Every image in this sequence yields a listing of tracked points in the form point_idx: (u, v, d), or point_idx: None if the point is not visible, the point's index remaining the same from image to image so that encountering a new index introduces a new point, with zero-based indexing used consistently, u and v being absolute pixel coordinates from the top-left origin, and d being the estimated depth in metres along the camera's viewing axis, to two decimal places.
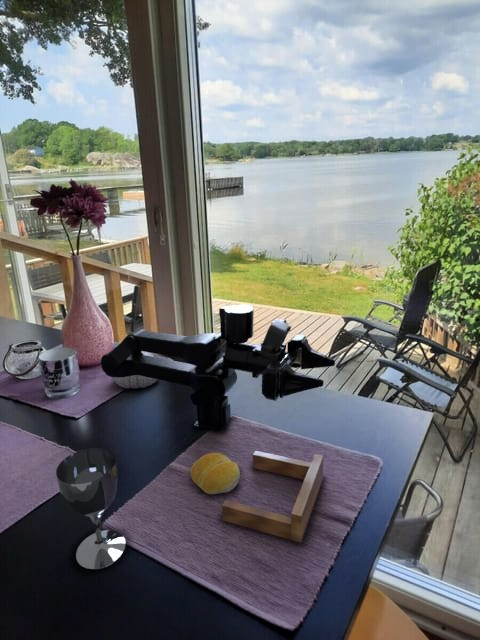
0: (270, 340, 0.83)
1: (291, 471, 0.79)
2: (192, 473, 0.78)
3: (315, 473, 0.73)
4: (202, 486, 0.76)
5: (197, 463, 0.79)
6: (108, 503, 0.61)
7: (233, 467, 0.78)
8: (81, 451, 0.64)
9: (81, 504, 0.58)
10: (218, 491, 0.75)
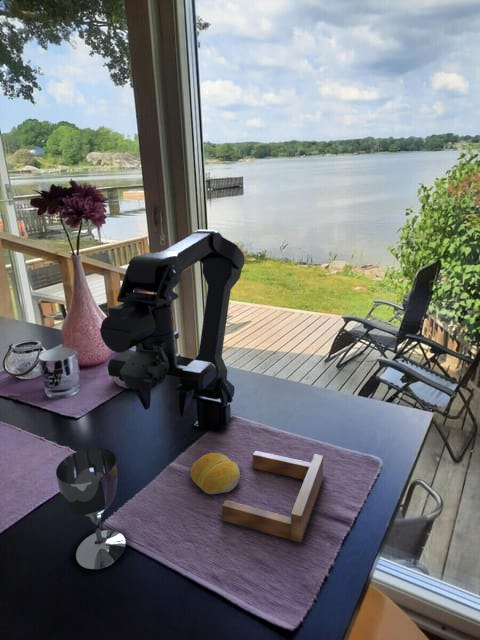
0: None
1: (291, 471, 0.79)
2: (192, 473, 0.78)
3: (315, 473, 0.73)
4: (202, 486, 0.76)
5: (197, 463, 0.79)
6: (108, 503, 0.61)
7: (233, 467, 0.78)
8: (81, 451, 0.64)
9: (81, 504, 0.58)
10: (218, 491, 0.75)
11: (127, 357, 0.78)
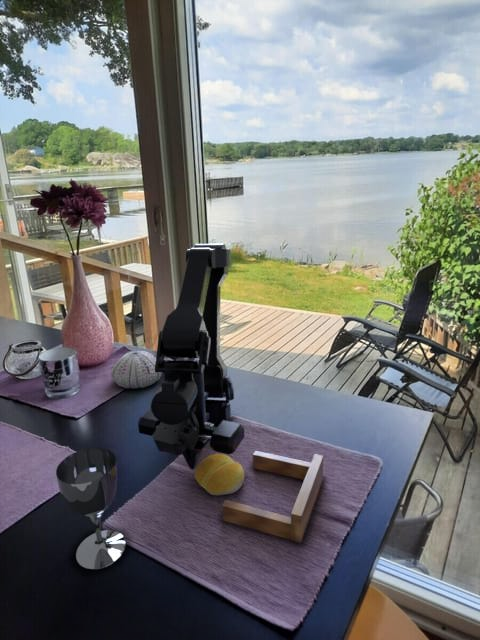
0: None
1: (291, 471, 0.79)
2: (196, 474, 0.78)
3: (315, 473, 0.73)
4: (206, 487, 0.76)
5: (201, 464, 0.79)
6: (108, 503, 0.61)
7: (237, 468, 0.78)
8: (81, 451, 0.64)
9: (81, 504, 0.58)
10: (222, 492, 0.75)
11: None
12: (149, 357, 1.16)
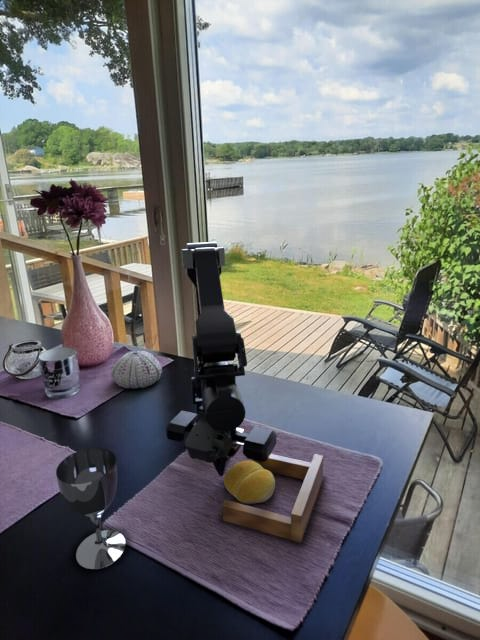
0: None
1: (291, 471, 0.79)
2: (226, 482, 0.76)
3: (315, 473, 0.73)
4: (237, 495, 0.73)
5: (231, 472, 0.76)
6: (108, 503, 0.61)
7: (268, 476, 0.75)
8: (81, 451, 0.64)
9: (81, 504, 0.58)
10: (254, 501, 0.73)
11: (186, 420, 0.77)
12: (149, 357, 1.16)
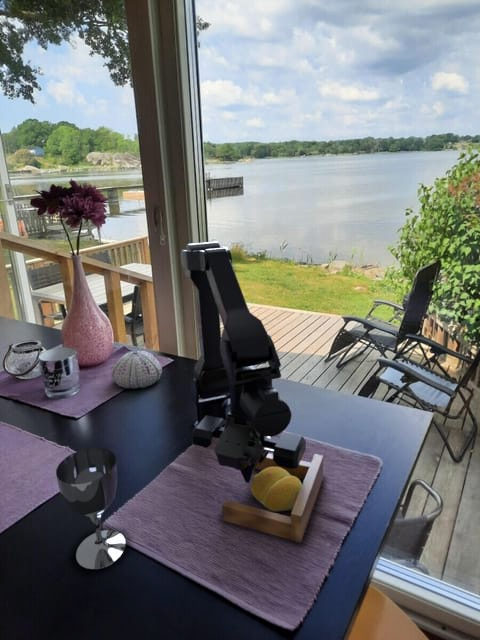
0: None
1: (291, 471, 0.79)
2: (253, 488, 0.74)
3: (315, 473, 0.73)
4: (265, 503, 0.72)
5: (258, 478, 0.75)
6: (108, 503, 0.61)
7: (296, 483, 0.73)
8: (81, 451, 0.64)
9: (81, 504, 0.58)
10: (283, 509, 0.71)
11: (212, 425, 0.75)
12: (149, 357, 1.16)
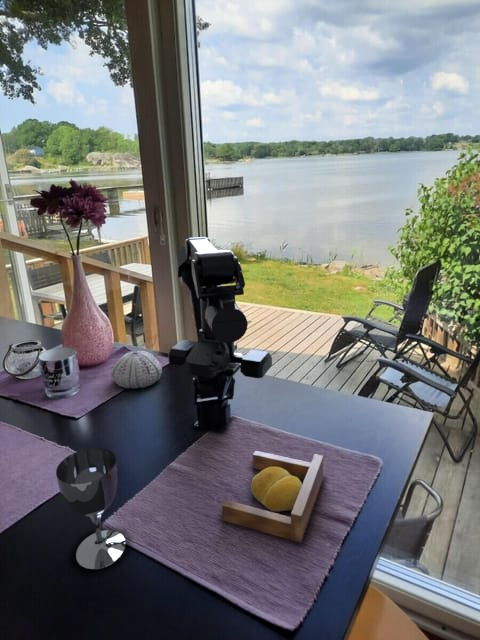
0: None
1: (291, 471, 0.79)
2: (253, 488, 0.74)
3: (315, 473, 0.73)
4: (266, 503, 0.72)
5: (258, 478, 0.75)
6: (108, 503, 0.61)
7: (297, 483, 0.73)
8: (81, 451, 0.64)
9: (81, 504, 0.58)
10: (283, 509, 0.71)
11: (186, 346, 0.82)
12: (149, 357, 1.16)
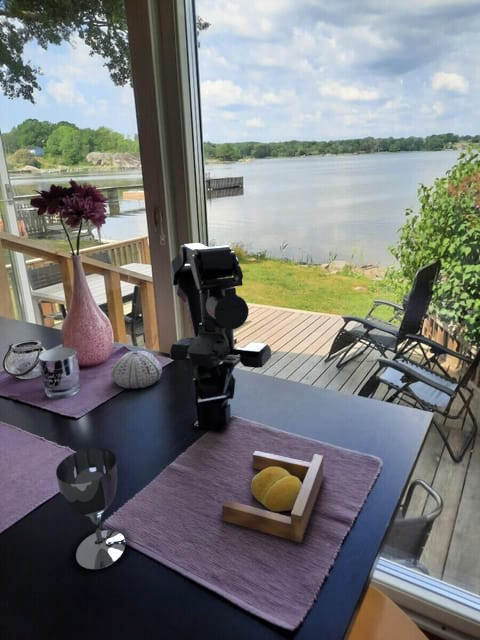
0: None
1: (291, 471, 0.79)
2: (253, 488, 0.74)
3: (315, 473, 0.73)
4: (266, 503, 0.72)
5: (258, 478, 0.75)
6: (108, 503, 0.61)
7: (297, 483, 0.73)
8: (81, 451, 0.64)
9: (81, 504, 0.58)
10: (283, 509, 0.71)
11: (187, 342, 0.84)
12: (149, 357, 1.16)
